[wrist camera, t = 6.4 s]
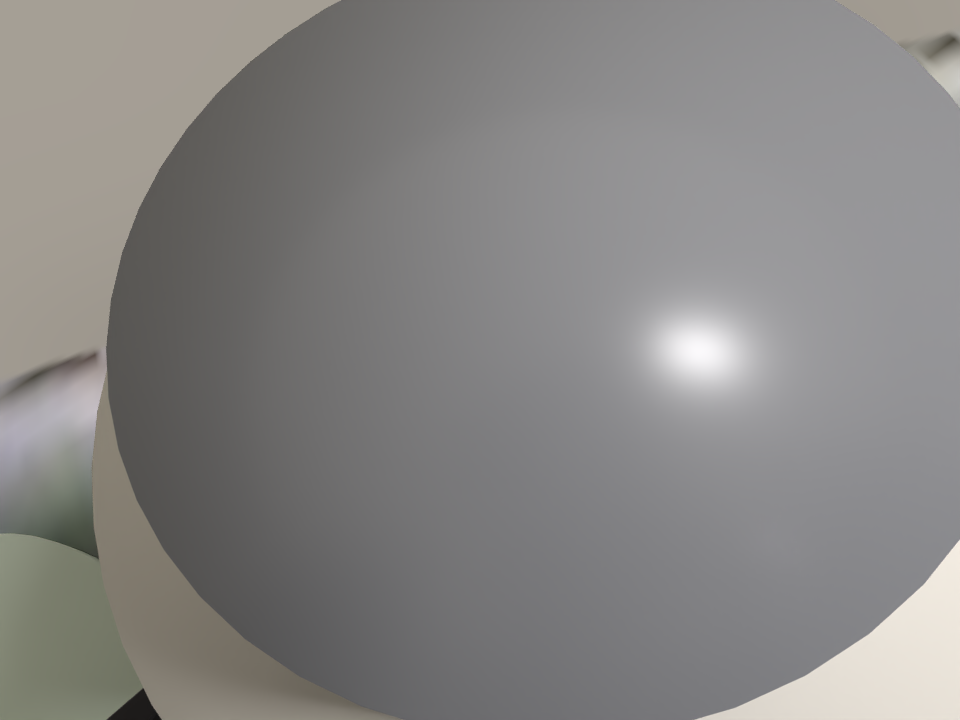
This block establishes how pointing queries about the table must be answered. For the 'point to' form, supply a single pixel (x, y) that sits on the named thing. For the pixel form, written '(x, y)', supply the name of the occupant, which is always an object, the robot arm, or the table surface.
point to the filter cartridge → (545, 373)
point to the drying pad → (58, 635)
